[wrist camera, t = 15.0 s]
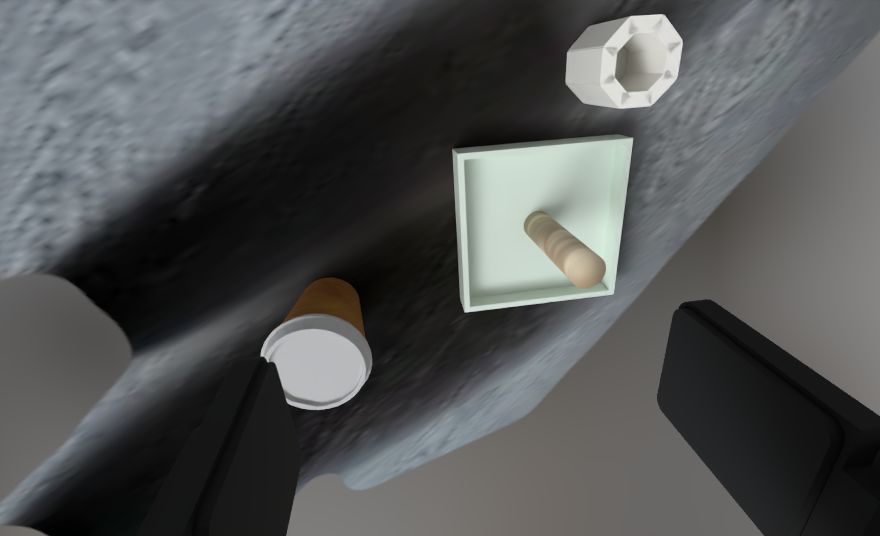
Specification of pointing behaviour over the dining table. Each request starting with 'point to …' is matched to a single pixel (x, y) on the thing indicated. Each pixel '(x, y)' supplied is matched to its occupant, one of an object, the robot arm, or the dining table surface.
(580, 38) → the cup holder
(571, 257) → the wooden pin
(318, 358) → the disposable coffee cup
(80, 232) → the dining table surface
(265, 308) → the dining table surface
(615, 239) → the tray
